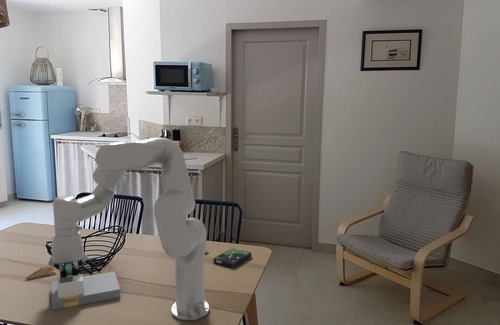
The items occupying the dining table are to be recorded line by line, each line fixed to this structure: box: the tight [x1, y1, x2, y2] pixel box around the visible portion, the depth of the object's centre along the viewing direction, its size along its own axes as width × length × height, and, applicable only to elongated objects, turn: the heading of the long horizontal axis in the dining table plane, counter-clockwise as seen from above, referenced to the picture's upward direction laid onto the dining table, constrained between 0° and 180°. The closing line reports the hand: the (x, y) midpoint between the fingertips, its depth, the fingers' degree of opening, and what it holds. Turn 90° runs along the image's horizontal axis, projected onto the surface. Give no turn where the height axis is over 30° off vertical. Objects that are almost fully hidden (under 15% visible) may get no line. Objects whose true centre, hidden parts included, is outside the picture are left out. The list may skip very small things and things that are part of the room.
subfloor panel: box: [50, 271, 121, 311], centre depth 148 cm, size 16×22×3 cm
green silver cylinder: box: [63, 261, 74, 277], centre depth 149 cm, size 3×3×8 cm
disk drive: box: [213, 247, 252, 269], centre depth 180 cm, size 10×3×15 cm
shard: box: [25, 265, 57, 280], centre depth 164 cm, size 11×8×2 cm
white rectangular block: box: [56, 274, 84, 298], centre depth 142 cm, size 5×8×5 cm, turn 115°
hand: (69, 278), depth 149 cm, fingers closed on green silver cylinder, 3 cm apart
